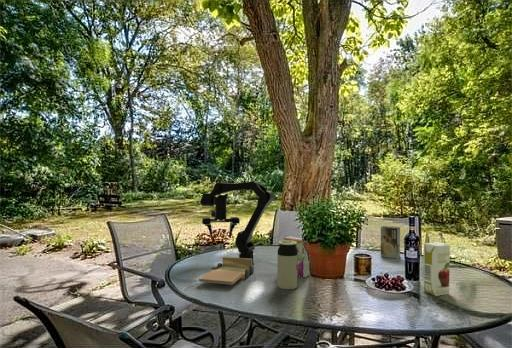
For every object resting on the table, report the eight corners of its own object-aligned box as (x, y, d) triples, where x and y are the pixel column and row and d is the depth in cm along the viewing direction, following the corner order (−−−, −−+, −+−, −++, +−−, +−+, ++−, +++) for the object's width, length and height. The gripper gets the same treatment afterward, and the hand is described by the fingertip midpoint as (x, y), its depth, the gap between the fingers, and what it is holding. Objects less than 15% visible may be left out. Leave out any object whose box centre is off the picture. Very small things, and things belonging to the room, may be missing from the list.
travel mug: (274, 288, 150) (275, 243, 149) (280, 283, 157) (280, 239, 157) (294, 291, 147) (294, 244, 147) (299, 285, 154) (299, 241, 154)
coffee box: (400, 256, 207) (400, 227, 207) (397, 258, 202) (397, 228, 202) (383, 254, 212) (383, 225, 212) (380, 256, 207) (380, 227, 207)
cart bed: (220, 269, 178) (221, 256, 178) (254, 272, 173) (254, 258, 173) (210, 276, 165) (210, 262, 165) (246, 279, 161) (246, 265, 161)
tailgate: (212, 269, 165) (199, 278, 151) (243, 272, 161) (232, 281, 147) (212, 272, 165) (199, 281, 151) (243, 275, 161) (232, 284, 147)
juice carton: (419, 291, 147) (420, 242, 147) (436, 288, 151) (436, 241, 151) (436, 297, 141) (436, 246, 140) (452, 294, 144) (453, 244, 144)
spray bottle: (282, 273, 171) (283, 237, 171) (289, 271, 175) (290, 235, 175) (303, 278, 164) (303, 240, 164) (309, 276, 167) (310, 239, 167)
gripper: (236, 205, 204) (236, 234, 204) (201, 205, 200) (201, 235, 200) (239, 207, 193) (239, 238, 193) (202, 207, 189) (202, 239, 189)
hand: (220, 237), depth 194 cm, fingers open, 9 cm apart
